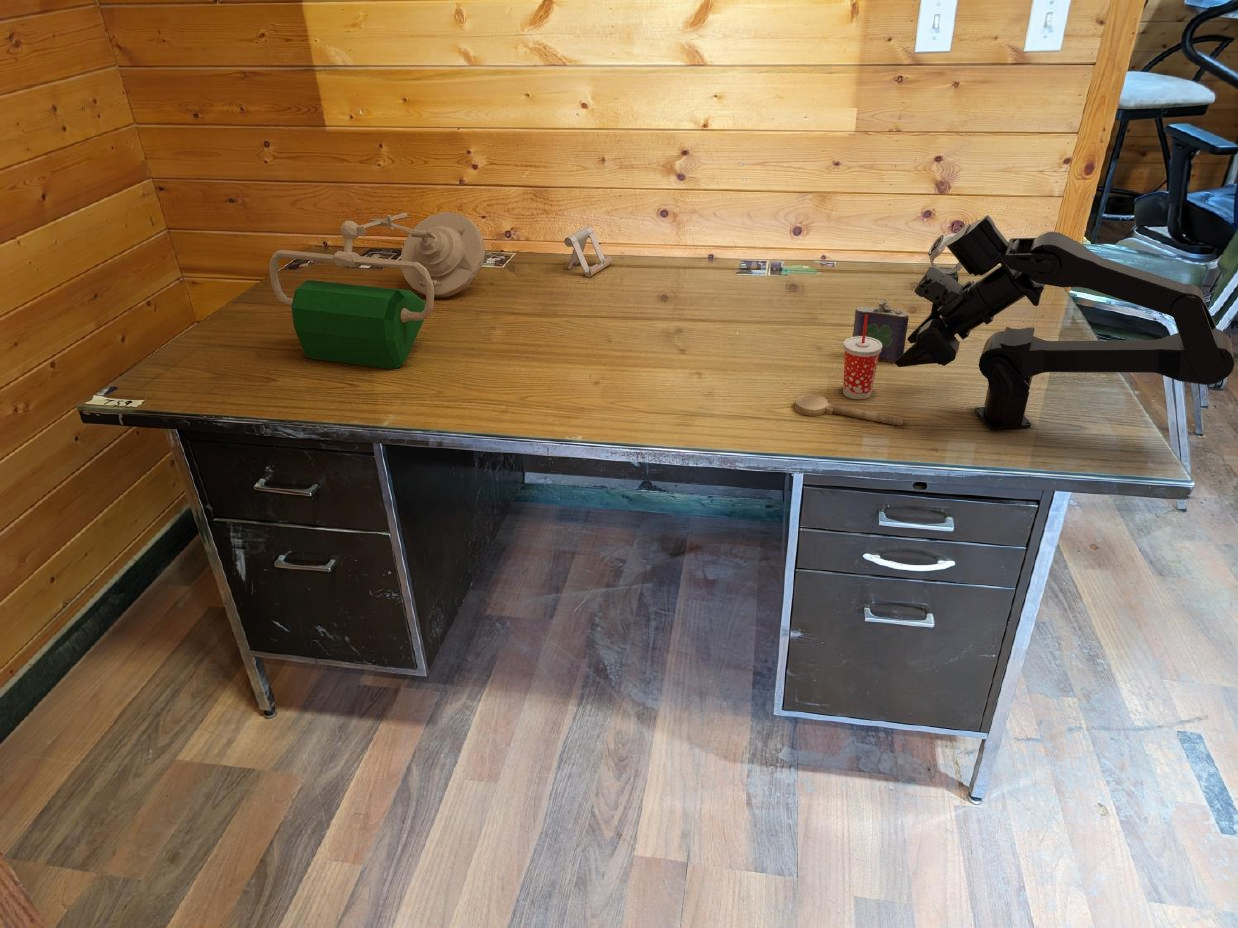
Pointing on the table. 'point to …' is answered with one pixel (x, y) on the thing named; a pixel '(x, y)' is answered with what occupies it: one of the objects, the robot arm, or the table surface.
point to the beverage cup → (860, 364)
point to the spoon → (839, 410)
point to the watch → (937, 250)
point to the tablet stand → (578, 244)
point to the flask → (883, 329)
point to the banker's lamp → (382, 291)
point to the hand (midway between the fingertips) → (903, 352)
